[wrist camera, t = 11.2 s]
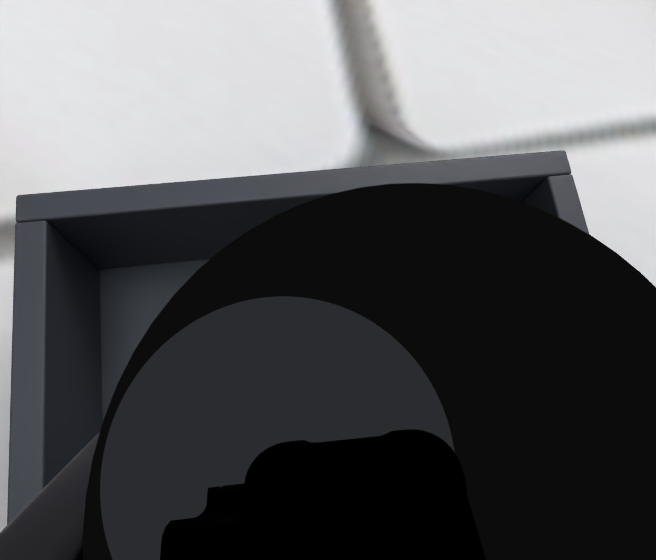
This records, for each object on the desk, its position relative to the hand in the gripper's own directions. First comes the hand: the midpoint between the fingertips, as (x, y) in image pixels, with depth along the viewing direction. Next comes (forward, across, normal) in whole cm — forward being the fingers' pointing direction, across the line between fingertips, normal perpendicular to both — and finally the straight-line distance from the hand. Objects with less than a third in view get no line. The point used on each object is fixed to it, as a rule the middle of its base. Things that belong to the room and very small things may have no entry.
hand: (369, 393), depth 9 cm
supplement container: (+4, 0, +6) cm, 7 cm away
